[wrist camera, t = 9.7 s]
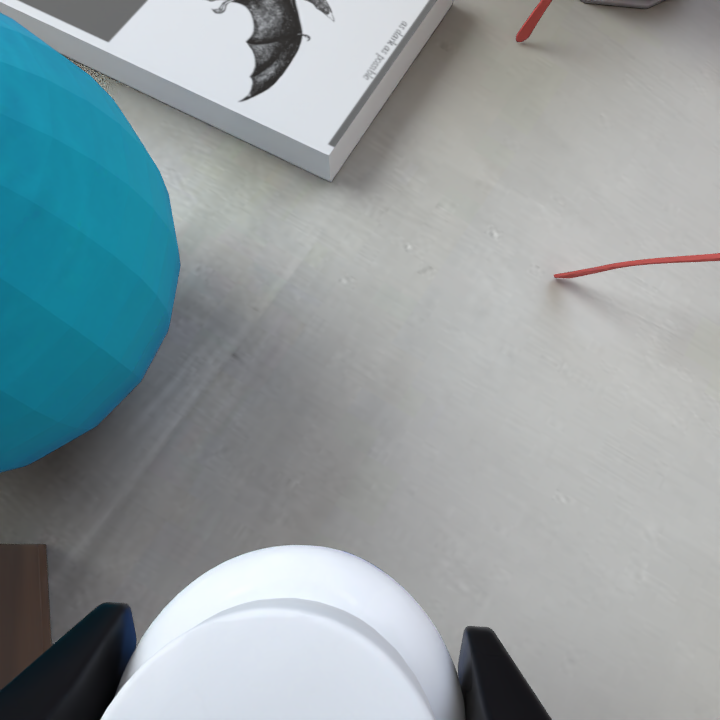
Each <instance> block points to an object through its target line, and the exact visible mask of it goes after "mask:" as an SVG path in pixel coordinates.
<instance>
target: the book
mask: <svg viewBox="0 0 720 720" xmlns="http://www.w3.org/2000/svg"><path fill="white" fill-rule="evenodd" d="M452 4H453V0H0V13H2V14H4V15H6V16H8V17H10V18H12V19H14V20H15V21H16V22H18V23H19V24H20V25H22V26H23V27H24V28H26V29H27V30H29V31H30V32H31V33H33V34H34V35H35V36H37V37H38V38H39V39H41V40H42V41H44V42H45V43H46V44H48V45H49V46H50V47H52V48H53V49H55V50H56V51H57V52H59V53H60V54H62V55H65V56H67V57H69V58H71V59H73V60H75V61H77V62H79V63H81V64H83V65H86V66H88V67H90V68H92V69H94V70H96V71H98V72H100V73H102V74H104V75H107V76H109V77H111V78H113V79H115V80H117V81H119V82H121V83H123V84H126V85H128V86H130V87H132V88H134V89H136V90H138V91H140V92H142V93H144V94H147V95H149V96H151V97H153V98H155V99H157V100H159V101H161V102H163V103H165V104H168V105H170V106H172V107H174V108H176V109H178V110H180V111H182V112H184V113H186V114H189V115H191V116H193V117H195V118H197V119H199V120H201V121H203V122H205V123H207V124H210V125H212V126H214V127H216V128H218V129H220V130H222V131H224V132H226V133H228V134H231V135H233V136H235V137H237V138H239V139H241V140H243V141H245V142H247V143H249V144H252V145H254V146H256V147H258V148H260V149H262V150H264V151H266V152H268V153H271V154H273V155H275V156H277V157H279V158H281V159H283V160H285V161H287V162H289V163H292V164H294V165H296V166H298V167H300V168H302V169H304V170H306V171H308V172H310V173H313V174H315V175H317V176H319V177H321V178H323V179H325V180H327V181H329V182H331V181H332V180H333V178H334V177H335V175H336V174H337V173H338V171H339V170H340V168H341V167H342V165H343V164H344V162H345V161H346V159H347V158H348V156H349V155H350V154H351V152H352V151H353V149H354V148H355V146H356V145H357V143H358V142H359V140H360V139H361V137H362V136H363V134H364V133H365V132H366V130H367V129H368V127H369V126H370V124H371V123H372V121H373V120H374V118H375V117H376V115H377V114H378V113H379V111H380V110H381V108H382V107H383V105H384V104H385V102H386V101H387V99H388V98H389V96H390V95H391V93H392V92H393V91H394V89H395V88H396V86H397V85H398V83H399V82H400V80H401V79H402V77H403V76H404V74H405V73H406V72H407V70H408V69H409V67H410V66H411V64H412V63H413V61H414V60H415V58H416V57H417V55H418V54H419V52H420V51H421V50H422V48H423V47H424V45H425V44H426V42H427V41H428V39H429V38H430V36H431V35H432V33H433V32H434V31H435V29H436V28H437V26H438V25H439V23H440V22H441V20H442V19H443V17H444V16H445V14H446V13H447V11H448V10H449V9H450V7H451V6H452Z"/></svg>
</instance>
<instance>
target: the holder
mask: <svg viewBox="0 0 720 720" xmlns="http://www.w3.org/2000/svg"><path fill="white" fill-rule="evenodd" d="M50 647H51V629H50V610H49V591H48V572H47V554H46V545H45V544H0V690H1V689H2V688H3V687H4V686H6V685H7V684H8V683H9V682H10V681H11V680H13V679H14V678H15V677H16V676H17V675H18V674H20V673H21V672H22V671H23V670H24V669H25V668H27V667H28V666H29V665H30V664H31V663H32V662H34V661H35V660H36V659H37V658H38V657H39V656H41V655H42V654H43V653H44V652H45V651H46V650H47V649H49V648H50Z"/></svg>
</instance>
